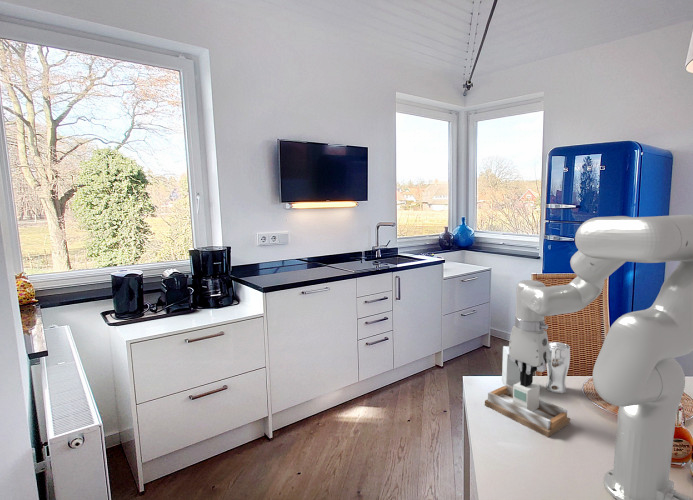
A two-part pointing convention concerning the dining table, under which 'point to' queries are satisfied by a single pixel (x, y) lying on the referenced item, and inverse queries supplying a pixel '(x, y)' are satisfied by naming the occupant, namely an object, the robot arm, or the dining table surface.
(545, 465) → the dining table surface
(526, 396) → the block
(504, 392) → the rail board
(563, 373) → the beer glass
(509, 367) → the supplement box
